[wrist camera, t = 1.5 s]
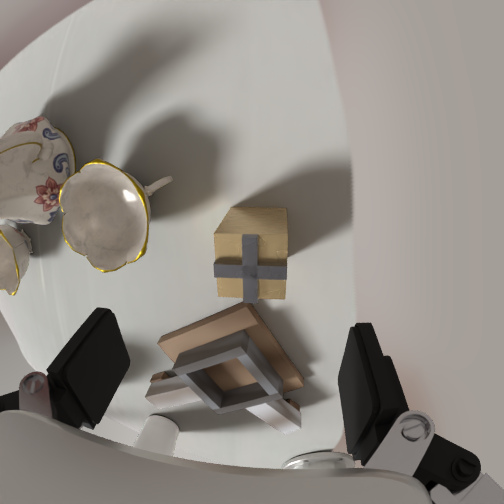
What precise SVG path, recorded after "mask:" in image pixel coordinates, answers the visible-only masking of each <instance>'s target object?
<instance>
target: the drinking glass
mask: <svg viewBox="0 0 504 504" xmlns="http://www.w3.org/2000/svg"><path fill="white" fill-rule="evenodd" d="M178 434H179V428H178V426H177V425H176V424H175V423H174V422H173V421H171V420H170V419H168V418H165V417H163V416H158V415H152V416H149V417H147V419H146V420H145V423H144V425H143V427H142V429H141V431H140V433H139V435H138V437H137V439H136V440H135V442H134V444H133V446H132V447H135V448H139V449H142V450H146V451H150V452H154V453H159V454H163V455H167V456H172V457H173V454H174V449H175V445H176V440H177V437H178Z"/></svg>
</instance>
